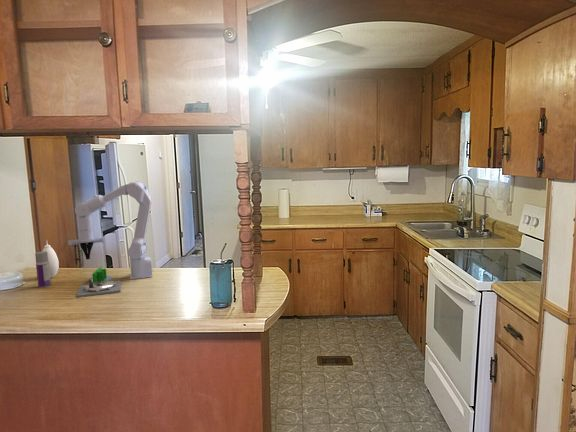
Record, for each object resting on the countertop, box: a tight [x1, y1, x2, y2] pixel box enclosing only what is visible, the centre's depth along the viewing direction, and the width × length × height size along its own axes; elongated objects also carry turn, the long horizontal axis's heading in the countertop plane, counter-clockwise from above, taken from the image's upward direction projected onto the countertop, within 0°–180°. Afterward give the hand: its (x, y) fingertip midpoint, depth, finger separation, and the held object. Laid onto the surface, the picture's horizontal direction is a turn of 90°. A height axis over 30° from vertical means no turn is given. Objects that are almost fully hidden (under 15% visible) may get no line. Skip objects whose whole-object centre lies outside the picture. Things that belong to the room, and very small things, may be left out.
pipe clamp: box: [92, 267, 108, 283], centre depth 185 cm, size 11×4×5 cm, turn 11°
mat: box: [104, 275, 112, 281], centre depth 185 cm, size 7×13×1 cm, turn 22°
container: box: [34, 251, 52, 289], centre depth 177 cm, size 5×5×15 cm
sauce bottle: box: [41, 239, 60, 279], centre depth 190 cm, size 8×8×18 cm
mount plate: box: [76, 280, 122, 298], centre depth 171 cm, size 16×15×1 cm
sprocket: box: [83, 278, 116, 292], centre depth 171 cm, size 12×12×4 cm
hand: (88, 258), depth 187 cm, fingers closed
